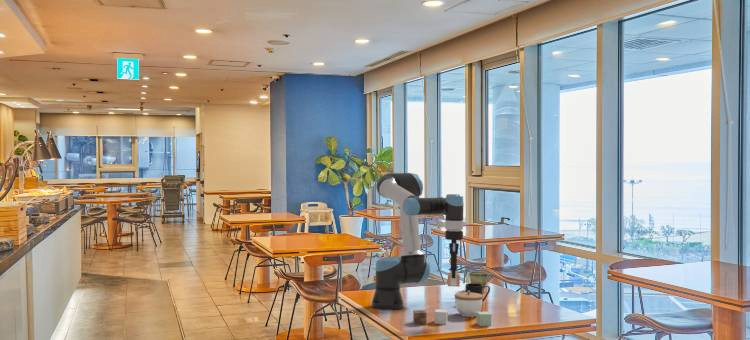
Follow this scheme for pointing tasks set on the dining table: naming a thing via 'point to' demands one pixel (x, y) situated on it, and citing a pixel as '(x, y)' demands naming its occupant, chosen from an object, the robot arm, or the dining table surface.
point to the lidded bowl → (468, 303)
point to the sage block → (483, 318)
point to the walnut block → (419, 317)
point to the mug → (477, 289)
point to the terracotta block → (457, 279)
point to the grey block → (441, 316)
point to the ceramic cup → (479, 277)
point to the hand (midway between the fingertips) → (453, 284)
